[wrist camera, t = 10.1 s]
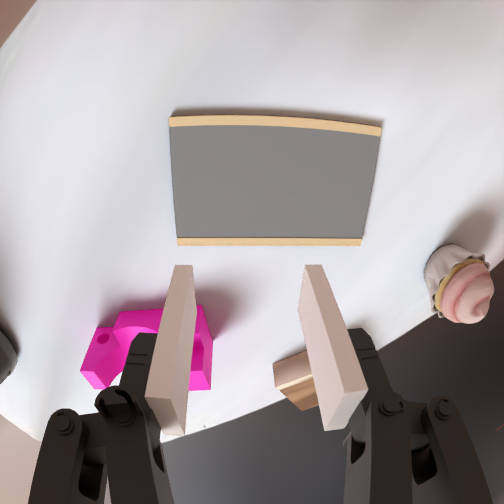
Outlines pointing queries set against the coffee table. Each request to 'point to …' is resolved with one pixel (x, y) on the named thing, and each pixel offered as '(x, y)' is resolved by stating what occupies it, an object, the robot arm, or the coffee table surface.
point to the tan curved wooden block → (296, 380)
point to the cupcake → (458, 284)
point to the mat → (271, 180)
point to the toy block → (119, 339)
